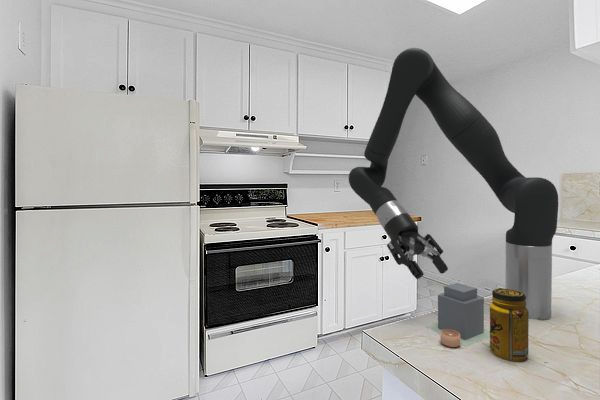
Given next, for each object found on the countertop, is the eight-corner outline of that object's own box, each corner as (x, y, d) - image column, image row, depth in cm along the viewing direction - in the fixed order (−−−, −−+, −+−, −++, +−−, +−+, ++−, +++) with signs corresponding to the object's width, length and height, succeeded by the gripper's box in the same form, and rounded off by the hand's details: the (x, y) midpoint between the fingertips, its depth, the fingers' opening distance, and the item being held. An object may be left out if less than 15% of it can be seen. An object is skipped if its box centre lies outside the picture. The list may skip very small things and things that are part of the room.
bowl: (443, 339, 66) (443, 327, 66) (462, 344, 64) (462, 332, 64) (438, 346, 63) (437, 333, 63) (457, 351, 61) (457, 338, 61)
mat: (455, 318, 76) (455, 317, 76) (497, 335, 67) (497, 334, 67) (425, 328, 71) (425, 326, 71) (466, 347, 62) (466, 346, 62)
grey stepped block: (437, 328, 70) (437, 286, 70) (456, 321, 74) (456, 281, 73) (465, 340, 65) (465, 294, 64) (483, 332, 68) (483, 288, 68)
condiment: (479, 347, 63) (479, 287, 62) (519, 344, 64) (519, 284, 63) (506, 368, 56) (507, 300, 55) (551, 364, 56) (552, 297, 56)
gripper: (383, 213, 78) (421, 270, 69) (422, 210, 85) (462, 261, 76) (368, 232, 83) (402, 287, 74) (407, 228, 90) (443, 278, 81)
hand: (433, 274), depth 75 cm, fingers open, 8 cm apart
